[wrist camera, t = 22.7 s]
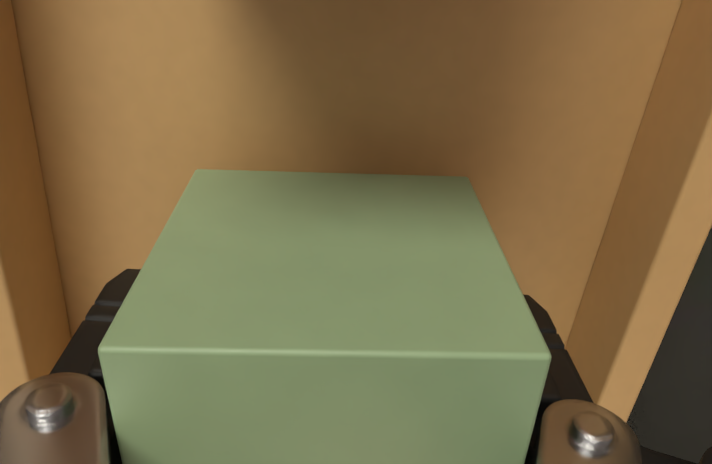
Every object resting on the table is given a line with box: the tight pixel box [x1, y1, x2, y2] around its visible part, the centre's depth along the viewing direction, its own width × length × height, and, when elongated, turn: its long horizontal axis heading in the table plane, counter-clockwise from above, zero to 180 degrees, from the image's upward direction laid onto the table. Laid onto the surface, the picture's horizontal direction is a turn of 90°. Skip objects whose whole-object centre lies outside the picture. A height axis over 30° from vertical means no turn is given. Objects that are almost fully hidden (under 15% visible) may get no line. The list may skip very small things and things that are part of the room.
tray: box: [0, 0, 712, 422], centre depth 10 cm, size 19×13×3 cm
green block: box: [98, 169, 551, 464], centre depth 10 cm, size 5×5×5 cm
